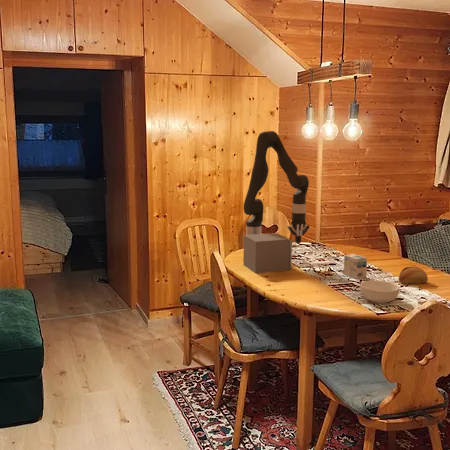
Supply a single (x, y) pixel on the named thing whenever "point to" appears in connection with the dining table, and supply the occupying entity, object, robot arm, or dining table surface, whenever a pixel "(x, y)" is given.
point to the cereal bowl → (379, 291)
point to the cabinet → (266, 252)
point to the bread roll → (413, 275)
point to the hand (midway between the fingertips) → (298, 242)
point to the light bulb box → (355, 266)
